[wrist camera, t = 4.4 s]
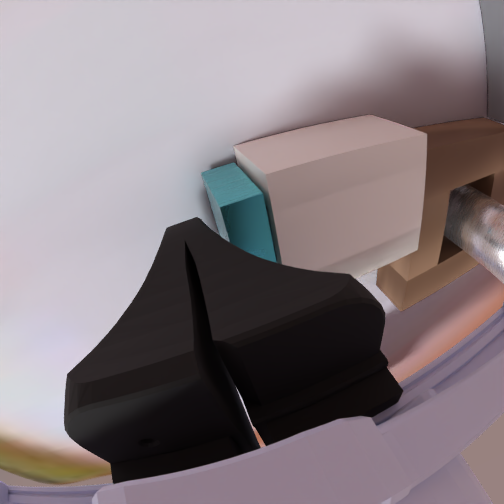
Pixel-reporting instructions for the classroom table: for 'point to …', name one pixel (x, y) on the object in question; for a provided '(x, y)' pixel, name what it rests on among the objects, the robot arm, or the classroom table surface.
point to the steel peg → (477, 227)
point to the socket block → (446, 206)
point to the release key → (240, 210)
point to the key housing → (341, 192)
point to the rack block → (494, 55)
